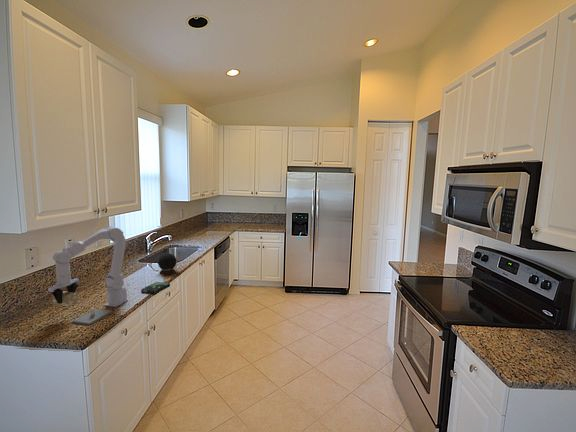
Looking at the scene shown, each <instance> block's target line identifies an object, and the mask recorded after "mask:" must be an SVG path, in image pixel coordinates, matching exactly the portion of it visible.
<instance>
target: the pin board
mask: <svg viewBox="0 0 576 432" xmlns="http://www.w3.org/2000/svg"><path fill="white" fill-rule="evenodd" d="M112 313H113V310H109V309H108V310H107V309H102V308H94V307H92V308H91V309H90V310H89V312H87V313H85V314H83V315H81V316H80V317H78V318H75V319H73V320H72V323H73V324H76V325H77V324H78V325H85V326H91V325H93V324H94V323H96V322H98V321H100V320H101V319H104V318H105V317H106V316H109V315H110V314H112Z"/></svg>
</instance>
